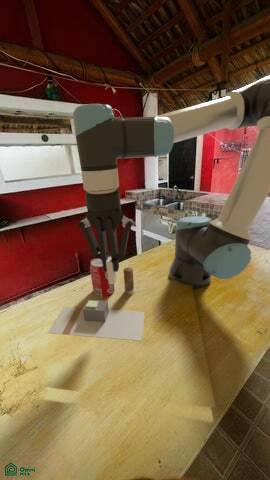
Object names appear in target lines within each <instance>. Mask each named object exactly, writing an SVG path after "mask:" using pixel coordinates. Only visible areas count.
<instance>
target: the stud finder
mask: <svg viewBox="0 0 270 480" xmlns="http://www.w3.org/2000/svg"><path fill="white" fill-rule="evenodd" d="M82 308H83V314H84V320H85V321H96V322H106V319H107V316H108V313H109V310H110V309H109V302H108V300H100V299H99V300H98V299H97V300H95V299H87V300H86V301H85V304H84V306H83V307H82Z"/></svg>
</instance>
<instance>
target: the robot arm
mask: <svg viewBox="0 0 270 480" xmlns="http://www.w3.org/2000/svg"><path fill="white" fill-rule="evenodd" d="M72 114H73V115H72V116H73V125H74V136H75V141H76V147H77V148H76V149H77V152H78V153H77V154H78V158H79V159H78V160H79V165H80V170H81V172H80V173H81V178H82V185H83V186H82V187H83V190H84V191H86V192H85V194H84V199H85V206H86V210H87V213H86V215H85V218H82V220H80V221H79V222H78V223H77V226H78V228H79V229H80V230H81V231H82V232H83V235H84V237H85V239H86V241H87V244H88V247H89V249H90V251H91V253H92V256H93V259H94V258H95V259H101V260H102V264H103V270H104V271H107V274H108V282H109V284H114V285H115V283H116V281H117V273H118V271H119V269H120V263H119V260H123V259H124V257H125V256H126V251H127V245H128V240H129V234H130V230H131V228H132V227H133V224H134V222H135V221H134V219H133V218H128V217H126V216H125V213H124V212H123V210H122V205H121V204H122V202H121V193H120V190H119V189H118V188H119V187H120V180H119V179H120V178H119V171H118V169H119V168H118V160H123V159H135V158H137V159H140V158H152V157H153V158H157V157H162V156H167V155H168V154H170V152H171V151H172V149H173V146H174V143H179V142H182V141H185V140H189V139H193V138H195V137H196V138H197V137H199V136H204V135H206V134H209V133H213V132H216V131H220V130H224V129H227V130H228V131H232V130H236V129H241V128H249V127H257V129H258V131H259V132H258V134H257V135H256V138H255V141H254V142H253V144H252V147H251V148H250V150H249V153H248V155H247V157H246V158H245V160H244V163H243V165H242V167H241V169H240V171H239V174H238V175H237V178H236V179H235V182H234V184H233V186H232V188H231V190H230V192H229V194H228V196H227V197H226V200H225V202H224V205H223V207H222V209H220V210H221V211H220V213H219V214H218V217H217V218H215V219H212V218H210V217H207V216H199V215H198V216H196V215H195V216H192V215H191V216H185V217H182V218H179V219H178V220H177V221H176V226H175V248H174V258H173V259H172V263H171V265H170V268H169V278H170V280H171V281H176V282H178V283H180V284H184V285H187V286H191V287H192V289H199V288H203V287H206V286H207V285H209V284H210V282H211V280H212V279H211V277H212V276H213V277H214V278H216V279H219V280H228V279H229V280H230V279H232V278H234V277H237V276H238V275H240V274H241V273H242V272H244V271H245V269H246V268H247V267H248V266H249V264H250V262H251V259H252V251H251V249H250V247H249V243H250V241H251V240H252V237H251V235H250V228H251V227H252V225H253V223H254V221H255V219H256V217H257V215H258V213H259V212H260V210H261V208H262V207H263V204H264V203H265V201H266V199H267V196H268V195H269V193H270V75H267V76H265V77H263V78H260V79H259V80H257V81H254V82H252V83H250V84H248V85H246V86H244V87H242V88H239V89H236V90H231V91H229V92H228V93H226V95H225V96H224V97H222V98H219V99H214V100H210V101H207V102H203V103H200V104H196V105H192V106H188V107H185V108H181V109H178V110H177V109H176V110H173V111H170V112H165V113H163V114H158V115H154V116H139V117H118V116H116V117H115V114H114V110H113V107H112V106H111V105H109V104H103V103H102V104H101V103H88V104H82V105H79V106H77V107H76V108H74V110H73V113H72ZM121 222H122V225H121V226H122V227H123V231H122V235H121V239H120V240H121V241H120V246H119V247H118V238H117V228H118V226H120V223H121ZM91 225H92V226H93V227H94V229H95V230H96V235H97V238H96V236H95V233H94V230H93V228H92V226H91ZM107 238H108V240H107ZM97 239H98V240H97ZM108 241H109V248H108ZM109 249H110V253H109Z"/></svg>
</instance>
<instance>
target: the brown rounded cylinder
mask: <svg viewBox="0 0 270 480" xmlns="http://www.w3.org/2000/svg"><path fill="white" fill-rule="evenodd" d="M123 283H124V294H126V295H132V294H134V293H135V287H134V285H135V283H134V269H133V267H130V266H129V267H124V269H123Z"/></svg>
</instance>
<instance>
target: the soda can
mask: <svg viewBox="0 0 270 480" xmlns="http://www.w3.org/2000/svg"><path fill="white" fill-rule="evenodd" d="M89 272H90V278H91V285H92V291H93V295H94V296H95V297H97V298H99V299H101V298H102V299H104V298H105V299H106V298H109V297H111V296H112V295H114V294H115V290H116V289H115V284H109V282H108V274H107V271H104V270H103V264H102V260H101V259H95V258H94V257H93V259H91V260H90V266H89Z"/></svg>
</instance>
